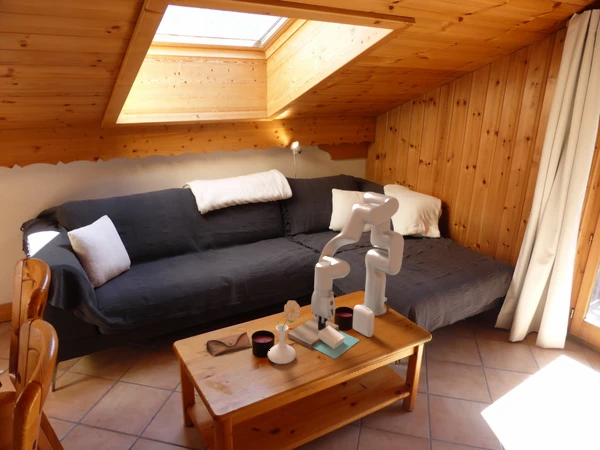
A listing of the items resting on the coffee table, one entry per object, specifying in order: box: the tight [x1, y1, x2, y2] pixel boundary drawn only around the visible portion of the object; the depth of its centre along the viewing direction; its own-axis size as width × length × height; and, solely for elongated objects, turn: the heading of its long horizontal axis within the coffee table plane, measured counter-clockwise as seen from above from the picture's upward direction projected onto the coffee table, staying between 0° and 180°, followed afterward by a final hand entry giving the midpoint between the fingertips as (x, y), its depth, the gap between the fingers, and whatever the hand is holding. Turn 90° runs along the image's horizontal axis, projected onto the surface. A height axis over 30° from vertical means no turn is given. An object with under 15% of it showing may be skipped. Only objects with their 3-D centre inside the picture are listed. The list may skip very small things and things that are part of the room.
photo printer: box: [352, 304, 375, 338], centre depth 182 cm, size 10×4×12 cm, turn 39°
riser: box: [287, 315, 340, 349], centre depth 181 cm, size 20×13×2 cm, turn 139°
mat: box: [311, 330, 361, 360], centre depth 174 cm, size 18×12×1 cm, turn 139°
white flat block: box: [318, 326, 345, 349], centre depth 174 cm, size 7×9×3 cm
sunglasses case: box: [205, 331, 252, 358], centre depth 171 cm, size 18×7×7 cm, turn 117°
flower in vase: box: [267, 300, 302, 365], centre depth 161 cm, size 13×11×25 cm
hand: (321, 329), depth 178 cm, fingers closed
